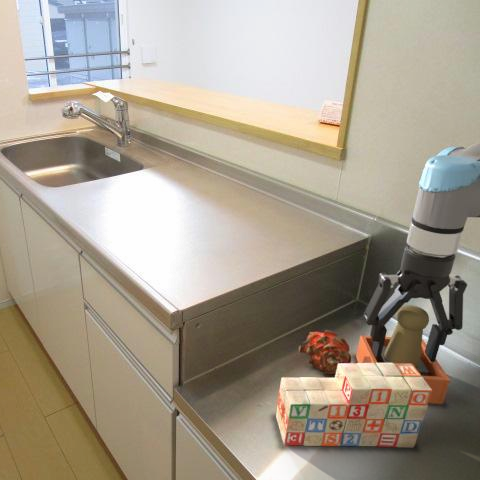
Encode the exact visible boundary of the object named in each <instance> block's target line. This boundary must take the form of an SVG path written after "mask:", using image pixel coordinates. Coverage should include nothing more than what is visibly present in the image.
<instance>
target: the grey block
mask: <svg viewBox="0 0 480 480" xmlns="http://www.w3.org/2000/svg"><path fill="white" fill-rule="evenodd" d="M386 348H387V346H383V349H382V354H381V358H376V357H375V358H376V360H377V362H378V363H390V362H389V361H388V360H387V359H386V358H385V354H384V353H385V351H386ZM416 369H417V371H418V372H419V373H420V375H421V376H428V373H429V371H428V370H427V368H426V367H425V365H424V363H423V362H422V360H421V359H420V364H419V366H418V367H416Z"/></svg>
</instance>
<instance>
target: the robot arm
mask: <svg viewBox="0 0 480 480" xmlns="http://www.w3.org/2000/svg"><path fill="white" fill-rule="evenodd" d="M420 177H421V178H420V180H419V182H418V190H417V195H416V200H415V204H414V209H413V213H412V218H411V221H410V225H409V229H408V233H407V239H406V245H405V246H404V251H403V255H402V259H401V262H400V263H401V264H400V269H399V270H398V271H397V273H396V274H387V273H386V272H380V273H379V275H378V276H379V277H378V284H377V286H376V288H375V289H374V290H375V291H373V293H372V296H371V298H370V300H369V302H368V304H367V306H366V308H365V310H364V312H363V314H362V316H363V319H364V320H365V322H366V324H367V325H368V326H371V329H370V334H369V336H371V338H372V340H373V346H372V351H373V353H374V355H375V357H376V358H381V354H382V349H383V345H384V341H385V337H387V332H388V329H387V327H386V325H387V324H388V323H389V322H390V320H391V319H392V318H393V317H394V316H395V315H396V314H397V311H398V310H399V309H400V308H401V307H402V306H404V305H405V303H406V304H407V303H409V302H410V301H411V300H412V299H419V298H420V299H425V300H429V301H430V304H431V308H432V311H433V314H434V316H435V319H436V322H437V323H432V325H431V328H430V332H429V335H428V338H427V342H426V349H425V354H426V356H427V357H428V359H429V360H430V362H435V359H436V360H437V355H438V352H439V349H440V346H444V345H445V344H446V341H447V338H448V336H450V335H452V334H453V333H454V331H453V330H456V331H460V330H462V329H463V324H464V323H463V322H464V315H463V314H464V294H465V291H466V289H467V287H468V283H467V282H466V281H465V280H464V279H463V278H462V277H461V276H460V275H455V276H450V274H451V273H452V270H453V267H454V264H455V260H456V253H458V250H459V246H460V242H461V240H462V235H463V232H464V229H465V226H466V223H467V221H468V218H480V140H479V141H477V142H475V143H473V144H471V145H469V146H468V147H465V148H464V146H450V147H446V148H444V149H442V150H441V151H440V152H438V154H437V155H434V156H432V157H430V158H429V159H428V160H427V161H426V163H425V166H424V168H423V170H422V174H421V176H420ZM396 283H398V285H397V286H396V288H395V289H394V292H393V293H392V295H391V296H390V297H389V298H388V296H389V295H390V293H391V292H390V291H391V289H393V288H394V287H395V286H394V285H395V284H396ZM446 287H448V316H447V312H446V310H445V307H444V304H443V298H442V295H441V293H440V292H441V291H443V290H444V289H445V288H446Z"/></svg>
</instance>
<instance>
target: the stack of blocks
mask: <svg viewBox="0 0 480 480" xmlns="http://www.w3.org/2000/svg"><path fill="white" fill-rule="evenodd" d="M431 392H432V389H431V388H430V387H429V385H428V384H427V383H426V381H425V380H424V378H423V377H421V375H420V373H419V372H418V371H417V369H416V368H415V367H414V366H413V364H394V363H358V362H355V363H353V362H351V363H339V364H338V366H337V371H336V375H335V374H334V377H313V376H312V377H311V376H310V377H306V376H301V377H290V376H289V377H281V379H280V386H279V391H278V397H277V405H276V406H277V407H276V415H275V417H276V421H277V425H278V428H279V432H280V437H281V441H282V443H283V445H284V446H307V447H321V446H322V447H379V448H415V446H416V443H417V440H418V436H419V433H420V430H421V427H422V424H423V421H424V420H425V416H426V413H427V410H428V407H429V403H428V401H429V398H430V395H431Z"/></svg>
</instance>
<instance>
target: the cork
mask: <svg viewBox="0 0 480 480" xmlns="http://www.w3.org/2000/svg"><path fill="white" fill-rule="evenodd" d="M395 315H396V321H397V323H396V326H395V328H394V330H393V333H392V335H391V336H390V337H391V339H390V342H389V344H388V346H387V348H386V351H385V353H384V354H385V358H386V359H387V360H388V361H389V362H390V363H394V364H413V366H414V367H415V368H416V367H418V366H419V364H420V355H421V344H422V339H423V335H424V334H423V333H424V330H425V329H426V327H427V326H428V324H429V322H430V317H429V316H430V315H429V314H428V312H427V311H426V310H425V309H424V308H422V307H420V306H418V305H413V304H404V305H402V307H401V308H400V309H399V310H398V311H397V312H396V314H395Z"/></svg>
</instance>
